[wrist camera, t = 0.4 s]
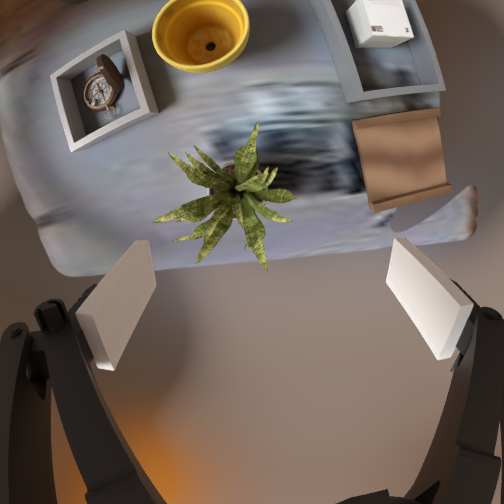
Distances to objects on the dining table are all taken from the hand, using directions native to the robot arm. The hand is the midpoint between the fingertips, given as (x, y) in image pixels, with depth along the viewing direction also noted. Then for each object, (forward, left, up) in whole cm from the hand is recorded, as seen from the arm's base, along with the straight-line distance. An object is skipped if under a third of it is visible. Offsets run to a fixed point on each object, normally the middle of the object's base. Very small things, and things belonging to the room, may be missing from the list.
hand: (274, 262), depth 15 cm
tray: (+2, +21, -26) cm, 34 cm away
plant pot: (-19, -1, -27) cm, 33 cm away
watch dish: (-19, -17, -26) cm, 37 cm away
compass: (-19, -17, -27) cm, 37 cm away
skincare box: (-17, +21, -27) cm, 38 cm away
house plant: (-1, -3, -27) cm, 27 cm away
